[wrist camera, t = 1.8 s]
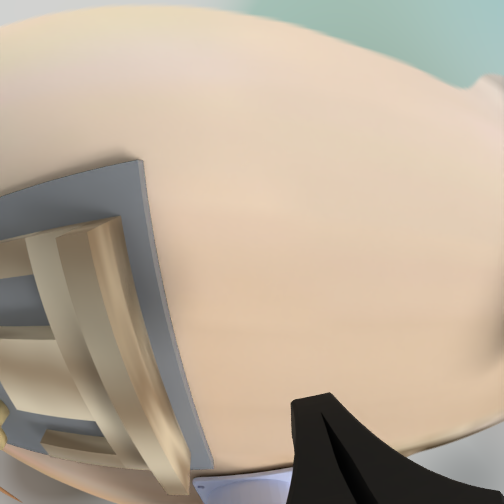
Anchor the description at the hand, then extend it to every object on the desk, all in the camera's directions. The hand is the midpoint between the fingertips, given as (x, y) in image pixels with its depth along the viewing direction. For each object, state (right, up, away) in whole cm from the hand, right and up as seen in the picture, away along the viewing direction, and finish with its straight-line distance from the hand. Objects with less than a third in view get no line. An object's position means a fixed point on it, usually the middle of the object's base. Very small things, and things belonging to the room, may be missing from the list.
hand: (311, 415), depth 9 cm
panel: (-11, 0, +3) cm, 12 cm away
